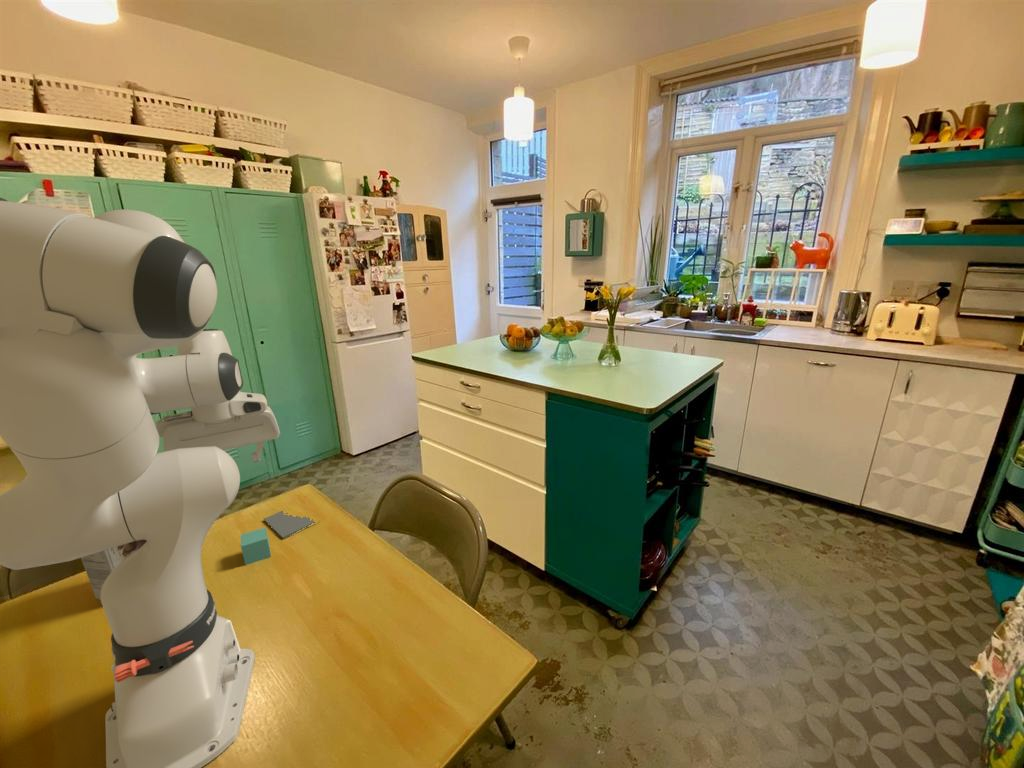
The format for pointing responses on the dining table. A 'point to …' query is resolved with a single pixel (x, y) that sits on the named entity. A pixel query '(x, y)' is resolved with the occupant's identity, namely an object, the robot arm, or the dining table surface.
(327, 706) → the dining table surface
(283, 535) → the mat
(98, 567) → the coffee box
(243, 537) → the teal cube
